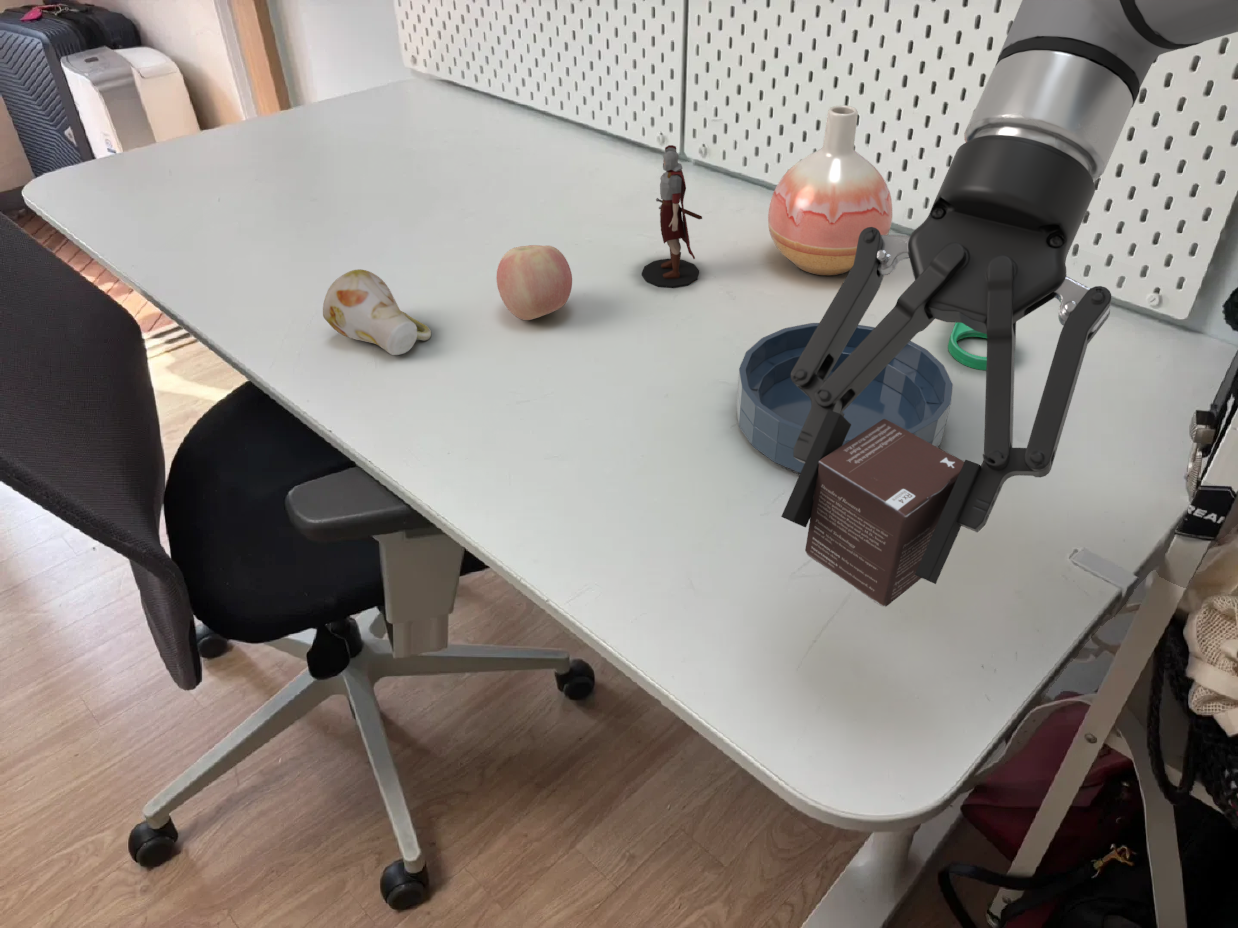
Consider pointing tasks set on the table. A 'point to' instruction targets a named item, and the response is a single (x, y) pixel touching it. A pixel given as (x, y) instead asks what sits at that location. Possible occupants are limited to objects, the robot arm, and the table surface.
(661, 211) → the figurine
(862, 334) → the bowl
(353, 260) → the table surface
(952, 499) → the robot arm
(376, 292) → the mug
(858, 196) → the vase
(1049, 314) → the table surface
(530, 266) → the apple
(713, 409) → the table surface
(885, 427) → the box
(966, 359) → the magnifying glass
